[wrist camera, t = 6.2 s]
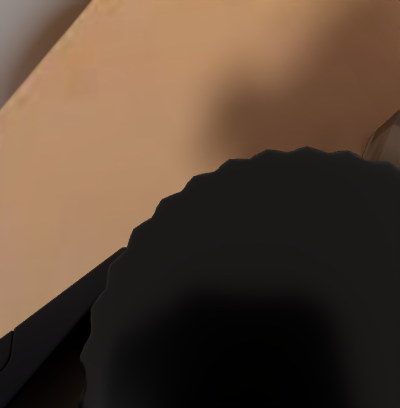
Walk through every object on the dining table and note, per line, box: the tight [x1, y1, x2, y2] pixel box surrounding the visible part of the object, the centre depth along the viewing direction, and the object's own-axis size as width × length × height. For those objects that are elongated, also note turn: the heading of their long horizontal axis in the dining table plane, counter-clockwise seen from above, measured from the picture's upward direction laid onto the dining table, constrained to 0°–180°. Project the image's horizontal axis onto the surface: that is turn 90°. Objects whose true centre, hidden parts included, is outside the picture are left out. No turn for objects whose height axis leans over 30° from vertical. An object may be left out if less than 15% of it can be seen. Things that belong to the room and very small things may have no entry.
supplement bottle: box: [78, 147, 400, 408], centre depth 8 cm, size 7×7×12 cm
